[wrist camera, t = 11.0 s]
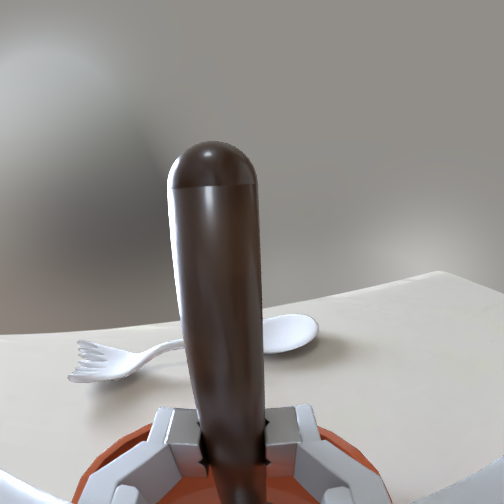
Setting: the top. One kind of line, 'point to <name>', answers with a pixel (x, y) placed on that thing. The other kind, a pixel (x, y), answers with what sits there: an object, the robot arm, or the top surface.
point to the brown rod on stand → (222, 310)
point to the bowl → (204, 489)
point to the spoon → (125, 363)
